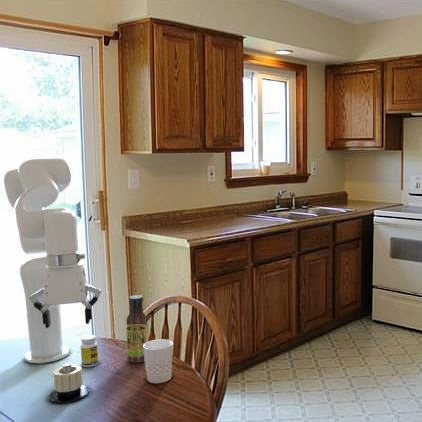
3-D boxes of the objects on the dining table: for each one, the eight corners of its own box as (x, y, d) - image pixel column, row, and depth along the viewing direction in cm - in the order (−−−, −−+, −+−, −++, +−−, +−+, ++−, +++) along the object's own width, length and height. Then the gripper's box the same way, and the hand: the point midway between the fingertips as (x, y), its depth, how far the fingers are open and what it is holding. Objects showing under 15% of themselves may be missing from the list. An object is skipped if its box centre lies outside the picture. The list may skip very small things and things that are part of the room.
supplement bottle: (93, 367, 158) (91, 340, 157) (78, 367, 159) (76, 339, 158) (101, 361, 162) (99, 334, 161) (87, 360, 163) (85, 334, 162)
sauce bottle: (125, 364, 160) (121, 300, 157) (129, 356, 166) (126, 294, 163) (147, 363, 160) (143, 299, 158) (150, 355, 166) (147, 293, 164)
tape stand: (52, 389, 144) (50, 359, 143) (91, 384, 147) (89, 355, 146) (45, 406, 135) (42, 374, 134) (87, 400, 137) (84, 369, 136)
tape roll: (57, 382, 143) (55, 366, 142) (84, 379, 144) (82, 363, 144) (52, 393, 136) (51, 376, 136) (80, 390, 138) (79, 373, 137)
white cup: (139, 379, 149) (137, 344, 148) (163, 370, 155) (161, 337, 154) (155, 387, 144) (153, 351, 143) (179, 377, 150) (177, 343, 148)
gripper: (100, 254, 142) (104, 316, 144) (29, 259, 138) (35, 323, 140) (97, 259, 135) (102, 325, 137) (22, 265, 131) (28, 332, 133)
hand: (68, 324), depth 138 cm, fingers open, 9 cm apart
